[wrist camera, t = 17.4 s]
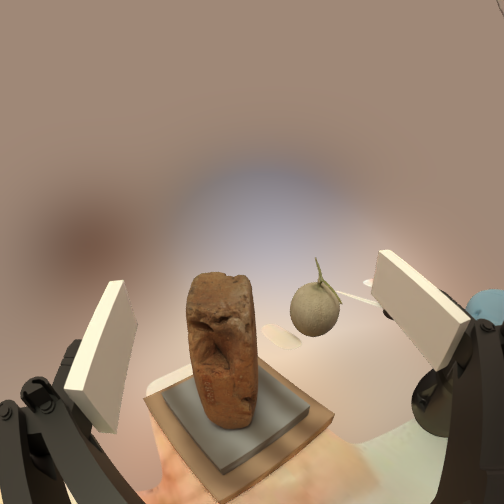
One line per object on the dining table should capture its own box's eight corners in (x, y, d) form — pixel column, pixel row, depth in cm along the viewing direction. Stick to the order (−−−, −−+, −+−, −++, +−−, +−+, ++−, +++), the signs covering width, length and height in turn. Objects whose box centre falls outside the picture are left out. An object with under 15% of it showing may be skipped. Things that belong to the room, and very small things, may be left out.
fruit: (318, 355, 52) (328, 294, 46) (279, 329, 60) (280, 270, 54) (347, 331, 58) (359, 273, 51) (310, 309, 66) (315, 254, 60)
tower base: (246, 356, 53) (244, 335, 50) (331, 422, 37) (338, 404, 35) (148, 407, 40) (137, 388, 38) (221, 505, 25) (215, 497, 22)
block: (211, 375, 41) (192, 266, 33) (258, 376, 41) (256, 265, 32) (203, 432, 31) (169, 324, 23) (258, 433, 31) (255, 325, 23)
